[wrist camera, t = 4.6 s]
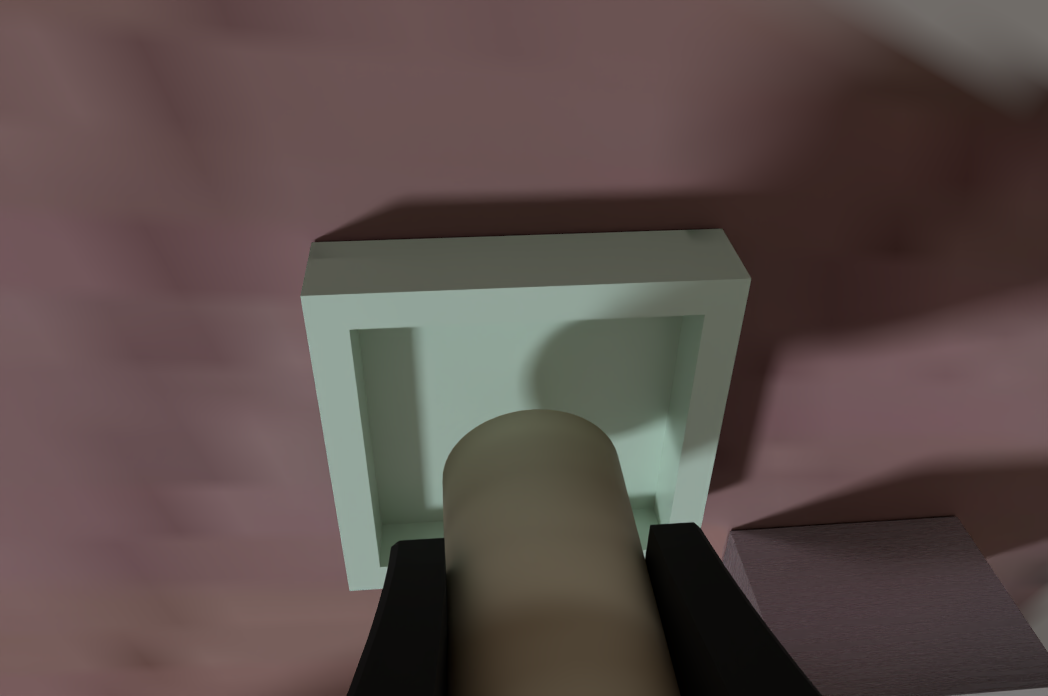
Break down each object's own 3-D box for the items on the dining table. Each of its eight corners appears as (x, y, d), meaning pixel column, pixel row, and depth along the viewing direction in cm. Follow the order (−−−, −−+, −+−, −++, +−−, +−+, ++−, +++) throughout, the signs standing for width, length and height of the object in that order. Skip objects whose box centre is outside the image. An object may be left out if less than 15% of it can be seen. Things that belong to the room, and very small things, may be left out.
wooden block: (929, 576, 20) (1029, 745, 16) (716, 592, 19) (775, 767, 16) (956, 516, 18) (1069, 685, 15) (730, 530, 18) (797, 708, 15)
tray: (674, 508, 17) (692, 567, 16) (355, 528, 17) (349, 590, 16) (722, 228, 14) (751, 278, 12) (311, 242, 13) (300, 296, 12)
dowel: (611, 531, 14) (729, 1049, 9) (445, 540, 14) (459, 1079, 9) (627, 405, 13) (786, 945, 7) (440, 413, 13) (452, 979, 7)
